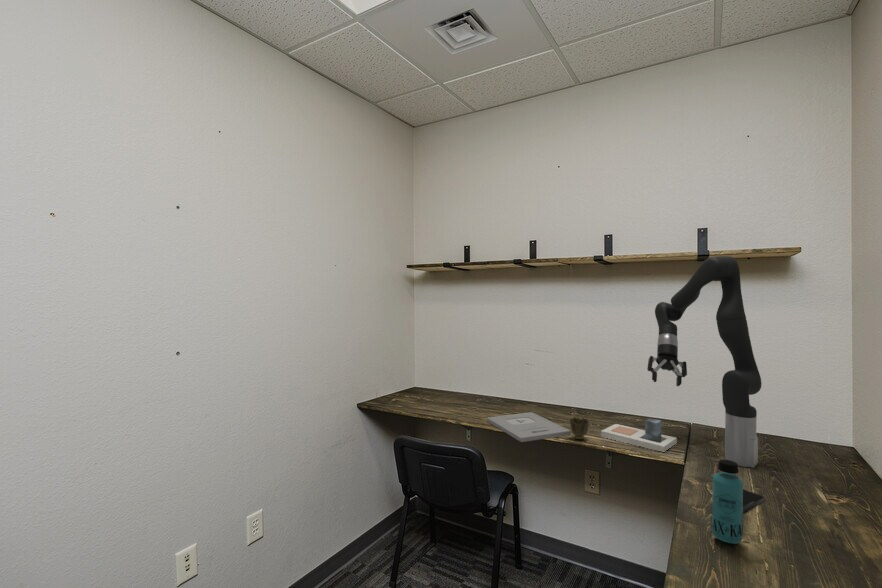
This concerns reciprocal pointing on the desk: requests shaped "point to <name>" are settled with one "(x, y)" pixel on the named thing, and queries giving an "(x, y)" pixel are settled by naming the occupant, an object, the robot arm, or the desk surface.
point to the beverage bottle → (727, 503)
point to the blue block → (653, 430)
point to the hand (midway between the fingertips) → (666, 383)
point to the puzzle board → (637, 437)
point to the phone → (751, 500)
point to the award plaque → (528, 426)
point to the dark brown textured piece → (579, 427)
